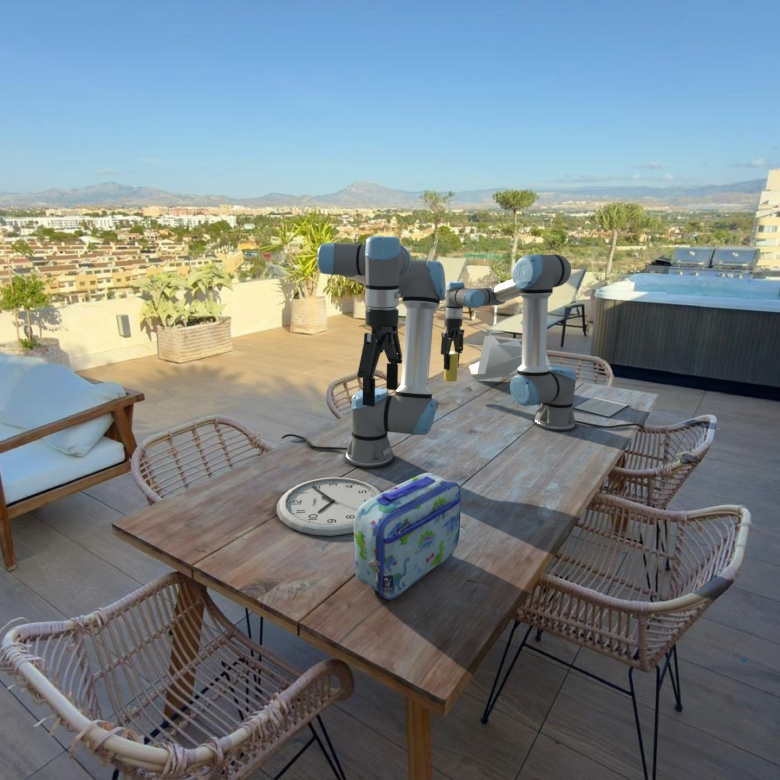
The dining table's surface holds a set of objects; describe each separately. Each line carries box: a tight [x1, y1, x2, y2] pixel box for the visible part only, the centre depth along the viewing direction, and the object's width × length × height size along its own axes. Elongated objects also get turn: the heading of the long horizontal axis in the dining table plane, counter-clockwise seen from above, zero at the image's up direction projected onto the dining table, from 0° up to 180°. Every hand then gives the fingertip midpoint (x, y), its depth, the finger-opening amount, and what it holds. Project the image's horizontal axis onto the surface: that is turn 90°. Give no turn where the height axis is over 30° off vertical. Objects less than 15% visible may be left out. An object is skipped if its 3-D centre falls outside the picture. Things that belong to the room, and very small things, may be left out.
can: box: [443, 350, 459, 382], centre depth 237 cm, size 6×6×13 cm
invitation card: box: [573, 396, 629, 418], centre depth 226 cm, size 21×1×15 cm
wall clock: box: [276, 476, 383, 537], centre depth 142 cm, size 30×2×30 cm
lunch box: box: [353, 472, 462, 600], centre depth 112 cm, size 26×11×21 cm, turn 134°
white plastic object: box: [468, 308, 551, 381], centre depth 254 cm, size 37×45×31 cm
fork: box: [432, 395, 439, 402], centre depth 223 cm, size 3×16×2 cm, turn 160°
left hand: (380, 397), depth 124 cm, fingers open, 13 cm apart
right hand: (451, 368), depth 237 cm, fingers closed on can, 6 cm apart
